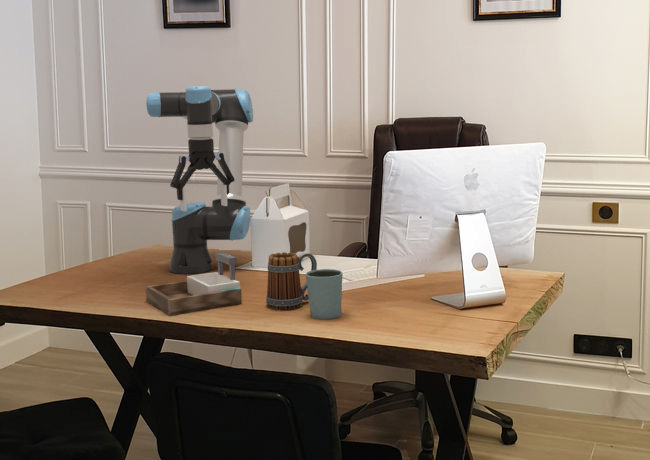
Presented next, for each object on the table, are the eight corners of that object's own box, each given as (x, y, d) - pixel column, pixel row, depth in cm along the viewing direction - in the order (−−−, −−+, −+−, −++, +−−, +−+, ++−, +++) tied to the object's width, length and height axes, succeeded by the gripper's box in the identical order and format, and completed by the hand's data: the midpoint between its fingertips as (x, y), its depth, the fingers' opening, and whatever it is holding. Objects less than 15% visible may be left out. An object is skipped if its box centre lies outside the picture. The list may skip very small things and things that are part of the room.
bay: (214, 290, 262) (213, 275, 262) (241, 304, 245) (241, 288, 245) (146, 301, 251) (145, 285, 250) (170, 315, 234) (169, 299, 234)
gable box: (277, 255, 317) (275, 181, 312) (310, 257, 312) (308, 182, 307) (251, 267, 297) (248, 188, 292) (285, 269, 292) (283, 189, 287)
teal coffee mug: (347, 318, 229) (347, 275, 227) (312, 321, 226) (311, 278, 224) (336, 308, 238) (336, 267, 236) (302, 312, 235) (301, 270, 233)
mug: (275, 312, 236) (273, 260, 233) (260, 304, 245) (258, 254, 242) (324, 305, 243) (323, 254, 240) (308, 297, 252) (307, 248, 249)
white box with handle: (220, 287, 261) (218, 250, 259) (242, 298, 247) (241, 259, 245) (187, 292, 256) (185, 254, 254) (208, 303, 242) (207, 263, 240)
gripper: (232, 134, 262) (235, 201, 266) (156, 140, 248) (161, 211, 252) (243, 136, 255) (246, 205, 260) (166, 142, 242) (170, 214, 246)
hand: (204, 208), depth 256 cm, fingers open, 13 cm apart
